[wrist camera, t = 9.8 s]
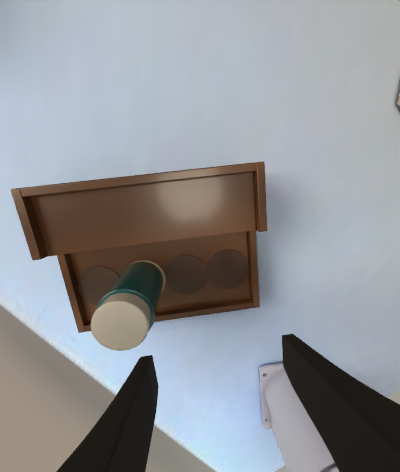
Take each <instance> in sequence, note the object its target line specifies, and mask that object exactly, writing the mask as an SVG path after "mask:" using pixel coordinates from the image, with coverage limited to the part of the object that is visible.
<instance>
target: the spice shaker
mask: <svg viewBox="0 0 400 472" xmlns="http://www.w3.org/2000/svg"><path fill="white" fill-rule="evenodd" d="M163 284H164V278H163V274H162V272H161V271H160V269H159V268H158V267H157V266H156V265H154V264H152V263H150V262H146V261H139V262H135V263H133V264H131V265H129V266H128V267H127V268H126V269H125V270H124V272H123V273H122V274H121V275H120V277H119V278H118V279H117V280H116V281H115V283H114V284H113V285H112V286H111V287H110V289H109V290H108V291H107V292H106V294H105V295H104V296H103V297H102V298H101V300H100V301H99V303H98V305H97V308H96V311H95V313H94V314H93V316H92V319H91V331H92V334H93V336H94V337H95V339H96V340H97V341H98V342H99V343H100V344H101V345H103V346H104V347H106V348H109V349H112V350H119V351H122V350H129V349H132V348H134V347H136V346H137V345H139V344H140V343H141V342H142V341H143V340H144V339H145V337H146V335H147V333H148V331H149V330H150V328H151V327H152V325H153V323H154V319H155V315H156V311H157V308H158V304H159V300H160V296H161V292H162V288H163Z"/></svg>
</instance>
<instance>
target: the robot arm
mask: <svg viewBox="0 0 400 472" xmlns="http://www.w3.org/2000/svg"><path fill="white" fill-rule="evenodd" d="M282 349H283V363H276V364H270V365H263V366H261V367H260V369H259V372H260V390H261V409H262V424H263V427H264V428H265V429H270V428H272V430H273V433H274V436H275V439H276V441H277V444H278V447H279V450H280V452H281V455H282V458H283V461H284V463H285V466H286V469H287V471H288V472H400V405H399V404H397V403H396V402H394V401H392V400H390V399H388V398H387V397H385V396H383V395H381V394H380V393H378V392H376V391H375V390H373V389H371V388H370V387H368V386H366V385H365V384H363V383H361V382H360V381H358V380H357V379H355V378H354V377H352V376H350V375H349V374H347V373H346V372H344V371H343V370H341V369H340V368H338V367H337V366H336V365H334V364H333V363H331V362H330V361H328V360H327V359H326V358H324V357H323V356H322V355H320V354H319V353H318V352H316V351H315V350H314V349H312V348H311V347H310V346H308V345H307V344H306V343H304V342H303V341H302V340H300V339H299V338H298V337H296V336H295V335H294V334H289V335H282ZM157 396H158V382H157V377H156V372H155V367H154V362H153V357H152V355H150V356H144V357H140V359H139V360H138V362H137V363H136V365H135V367H134V368H133V370H132V372H131V373H130V375H129V377H128V378H127V380H126V381H125V383H124V384H123V386H122V387H121V389H120V390H119V392H118V394H117V395H116V397H115V398H114V400H113V401H112V402H111V404H110V405H109V407H108V408H107V410H106V411H105V412H104V414H103V415H102V417H101V418H100V419H99V421H98V422H97V423H96V425H95V426H94V427H93V428H92V430H91V431H90V432H89V434H88V435H87V436H86V437H85V439H84V440H83V441H82V442H81V444H80V445H79V446H78V447H77V448H76V450H75V451H74V452H73V453H72V454H71V455H70V457H69V458H68V459H67V460H66V461H65V462H64V464H63V465H62V466H61V467H60V468H59V469H58V471H57V472H145V469H146V464H147V459H148V453H149V447H150V442H151V437H152V430H153V426H154V420H155V414H156V407H157Z"/></svg>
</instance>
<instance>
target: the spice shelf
mask: <svg viewBox="0 0 400 472" xmlns="http://www.w3.org/2000/svg"><path fill="white" fill-rule="evenodd" d="M11 193H12V196H13V199H14V202H15V205H16V209H17V212H18V215H19V218H20V221H21V225H22V228H23V231H24V234H25V237H26V241H27V244H28V247H29V250H30V253H31V257H32V260H39V259H42V258H45V257H47V256H54V255H57V257H58V261H59V264H60V268H61V271H62V275H63V279H64V282H65V286H66V289H67V293H68V296H69V300H70V303H71V307H72V310H73V314H74V317H75V321H76V324H77V328H78V332H79V333H80V332H85V331H91V319H92V316H93V314H94V313H95V311H96V308H97V305H98V303H99V301H100V300H101V298H102V297H103V296H104V295H105V294H106V292H107V291H108V290H109V289H110V287H111V286H112V285H113V284H114V283H115V281H116V280H117V279H118V278H119V277H120V275H121V274H122V273H123V272H124V270H125V269H126V268H127V267H128V266H129V265H131V264H133V263H135V262H139V261H146V262H150V263H152V264H154V265H156V266H157V267H158V268H159V269H160V271H161V272H162V274H163V278H164V284H163V288H162V292H161V296H160V300H159V304H158V308H157V311H156V315H155V319H154V322H157V321H164V320H171V319H179V318H186V317H193V316H200V315H207V314H214V313H221V312H228V311H235V310H242V309H249V308H253V307H254V308H257V307H260V305H259V285H258V265H257V246H256V230H257V231H259V232H264V231H267V219H266V192H265V166H264V162H256V163H246V164H236V165H227V166H218V167H209V168H200V169H190V170H181V171H172V172H163V173H154V174H145V175H135V176H126V177H117V178H108V179H99V180H89V181H80V182H71V183H62V184H53V185H43V186H34V187H25V188H16V189H11Z"/></svg>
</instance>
